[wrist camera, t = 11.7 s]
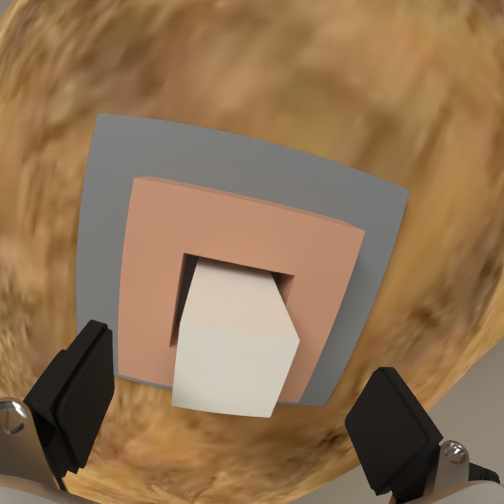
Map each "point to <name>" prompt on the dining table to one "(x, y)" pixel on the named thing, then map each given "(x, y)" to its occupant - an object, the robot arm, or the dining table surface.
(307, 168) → the socket board
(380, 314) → the dining table surface
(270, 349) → the plug
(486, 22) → the dining table surface
